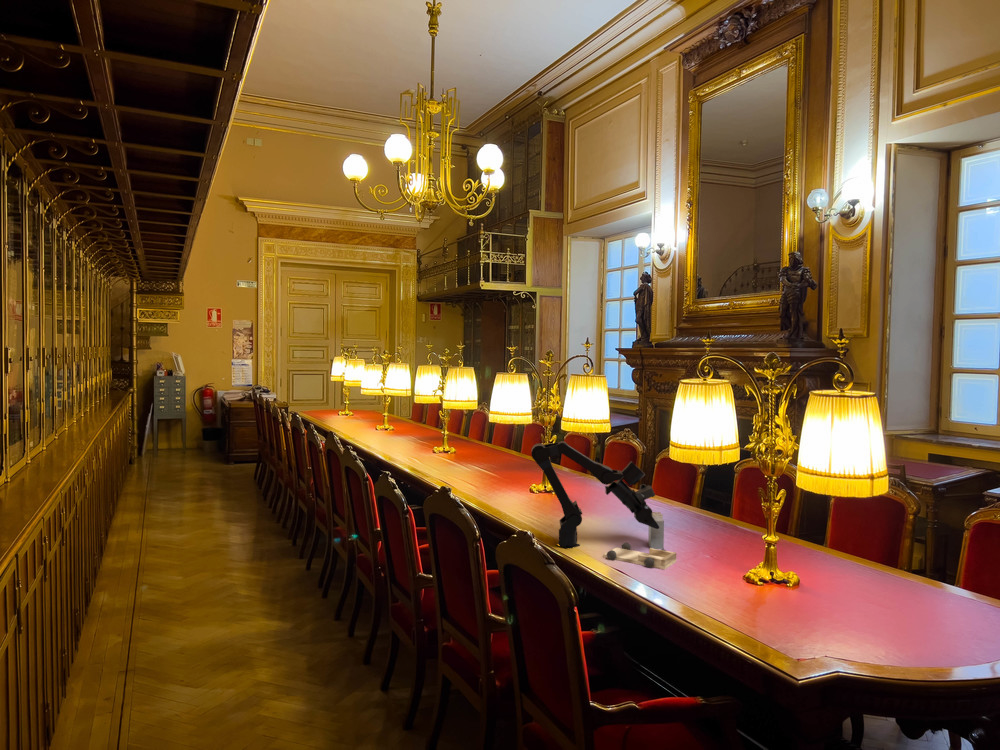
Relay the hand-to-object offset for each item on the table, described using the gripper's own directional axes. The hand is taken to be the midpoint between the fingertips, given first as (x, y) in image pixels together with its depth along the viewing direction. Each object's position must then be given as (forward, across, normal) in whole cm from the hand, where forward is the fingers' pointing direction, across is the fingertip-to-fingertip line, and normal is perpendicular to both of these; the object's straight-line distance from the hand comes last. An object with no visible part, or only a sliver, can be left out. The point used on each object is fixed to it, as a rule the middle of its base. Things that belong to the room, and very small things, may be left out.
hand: (656, 524), depth 243 cm
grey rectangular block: (+6, 0, +6) cm, 8 cm away
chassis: (0, -15, +12) cm, 19 cm away
